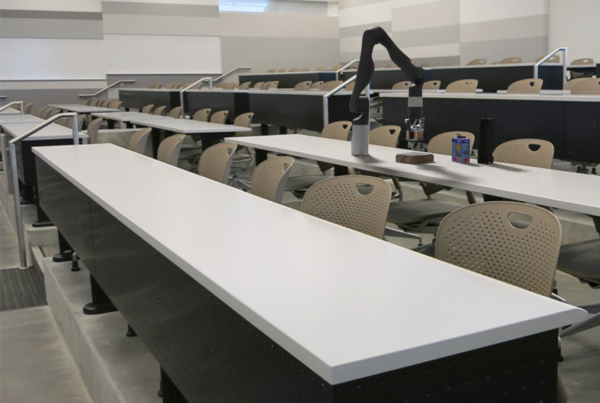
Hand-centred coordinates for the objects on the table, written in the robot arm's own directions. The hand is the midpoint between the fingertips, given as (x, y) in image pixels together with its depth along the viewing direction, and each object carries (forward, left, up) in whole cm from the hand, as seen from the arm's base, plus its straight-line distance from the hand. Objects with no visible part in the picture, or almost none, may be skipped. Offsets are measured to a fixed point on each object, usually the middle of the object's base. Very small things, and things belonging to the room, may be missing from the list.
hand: (414, 138), depth 334 cm
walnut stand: (0, 0, -12) cm, 12 cm away
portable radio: (+29, +21, -12) cm, 38 cm away
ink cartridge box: (+17, +16, -12) cm, 26 cm away
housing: (0, 0, -1) cm, 1 cm away
